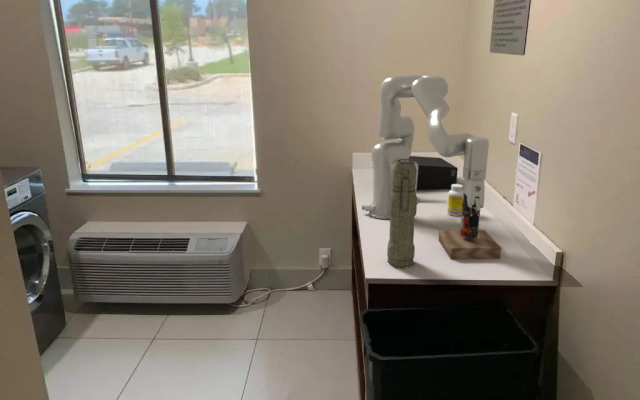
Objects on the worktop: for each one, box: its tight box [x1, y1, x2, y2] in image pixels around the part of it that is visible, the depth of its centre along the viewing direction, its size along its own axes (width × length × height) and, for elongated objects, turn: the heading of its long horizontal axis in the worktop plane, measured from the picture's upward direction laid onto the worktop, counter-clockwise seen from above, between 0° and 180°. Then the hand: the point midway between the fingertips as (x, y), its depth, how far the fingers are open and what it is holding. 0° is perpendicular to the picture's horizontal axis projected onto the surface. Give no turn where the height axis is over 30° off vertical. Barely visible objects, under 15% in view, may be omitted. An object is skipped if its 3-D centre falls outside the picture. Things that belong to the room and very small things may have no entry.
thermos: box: [386, 159, 418, 269], centre depth 159 cm, size 9×12×35 cm
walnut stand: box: [438, 229, 502, 260], centre depth 174 cm, size 17×17×4 cm
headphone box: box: [409, 155, 459, 192], centre depth 258 cm, size 25×35×14 cm
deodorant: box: [460, 194, 481, 238], centre depth 171 cm, size 6×6×15 cm
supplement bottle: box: [446, 183, 463, 217], centre depth 210 cm, size 7×7×13 cm
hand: (469, 222), depth 172 cm, fingers closed on deodorant, 5 cm apart
